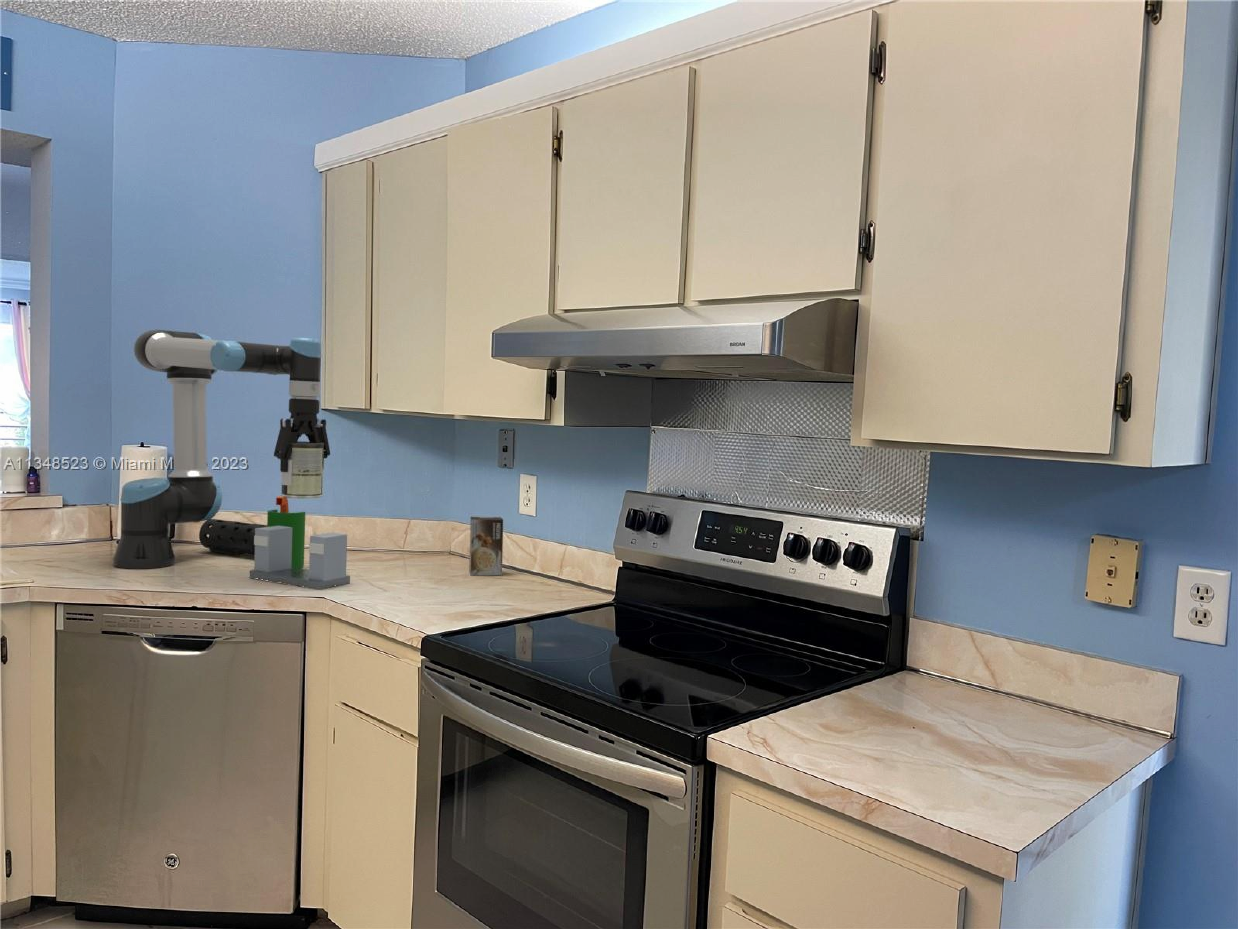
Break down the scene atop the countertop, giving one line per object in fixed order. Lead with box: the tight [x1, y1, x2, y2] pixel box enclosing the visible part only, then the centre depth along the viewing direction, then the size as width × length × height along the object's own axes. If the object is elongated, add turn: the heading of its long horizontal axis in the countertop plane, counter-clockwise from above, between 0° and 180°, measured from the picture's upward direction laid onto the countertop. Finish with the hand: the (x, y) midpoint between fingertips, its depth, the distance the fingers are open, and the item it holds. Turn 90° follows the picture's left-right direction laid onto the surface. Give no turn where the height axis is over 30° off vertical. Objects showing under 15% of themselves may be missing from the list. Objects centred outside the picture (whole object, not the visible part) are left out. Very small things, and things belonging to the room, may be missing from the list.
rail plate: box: [249, 567, 351, 590], centre depth 244 cm, size 24×11×2 cm, turn 64°
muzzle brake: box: [198, 518, 267, 556], centre depth 277 cm, size 10×28×10 cm, turn 68°
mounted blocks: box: [253, 526, 348, 581], centre depth 244 cm, size 24×8×11 cm, turn 64°
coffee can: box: [280, 440, 324, 499], centre depth 243 cm, size 10×10×14 cm
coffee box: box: [468, 516, 504, 576], centre depth 267 cm, size 9×6×16 cm
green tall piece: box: [266, 495, 306, 568], centre depth 263 cm, size 10×9×20 cm
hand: (302, 483), depth 243 cm, fingers closed on coffee can, 10 cm apart
